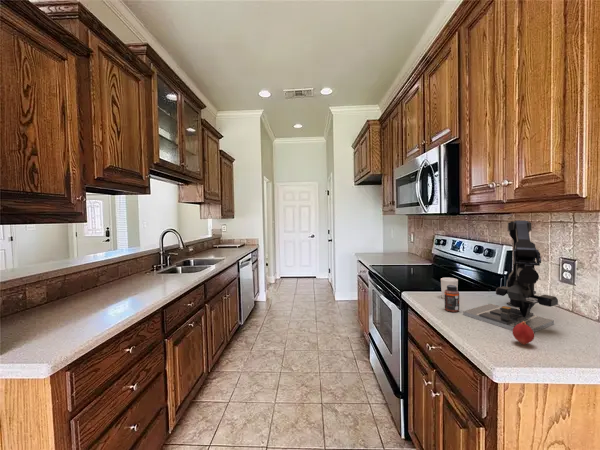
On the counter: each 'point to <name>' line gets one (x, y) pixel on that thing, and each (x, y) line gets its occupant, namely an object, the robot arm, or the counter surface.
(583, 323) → the counter surface
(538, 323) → the breaker panel
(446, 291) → the supplement bottle
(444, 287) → the white cup
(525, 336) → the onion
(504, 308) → the block
